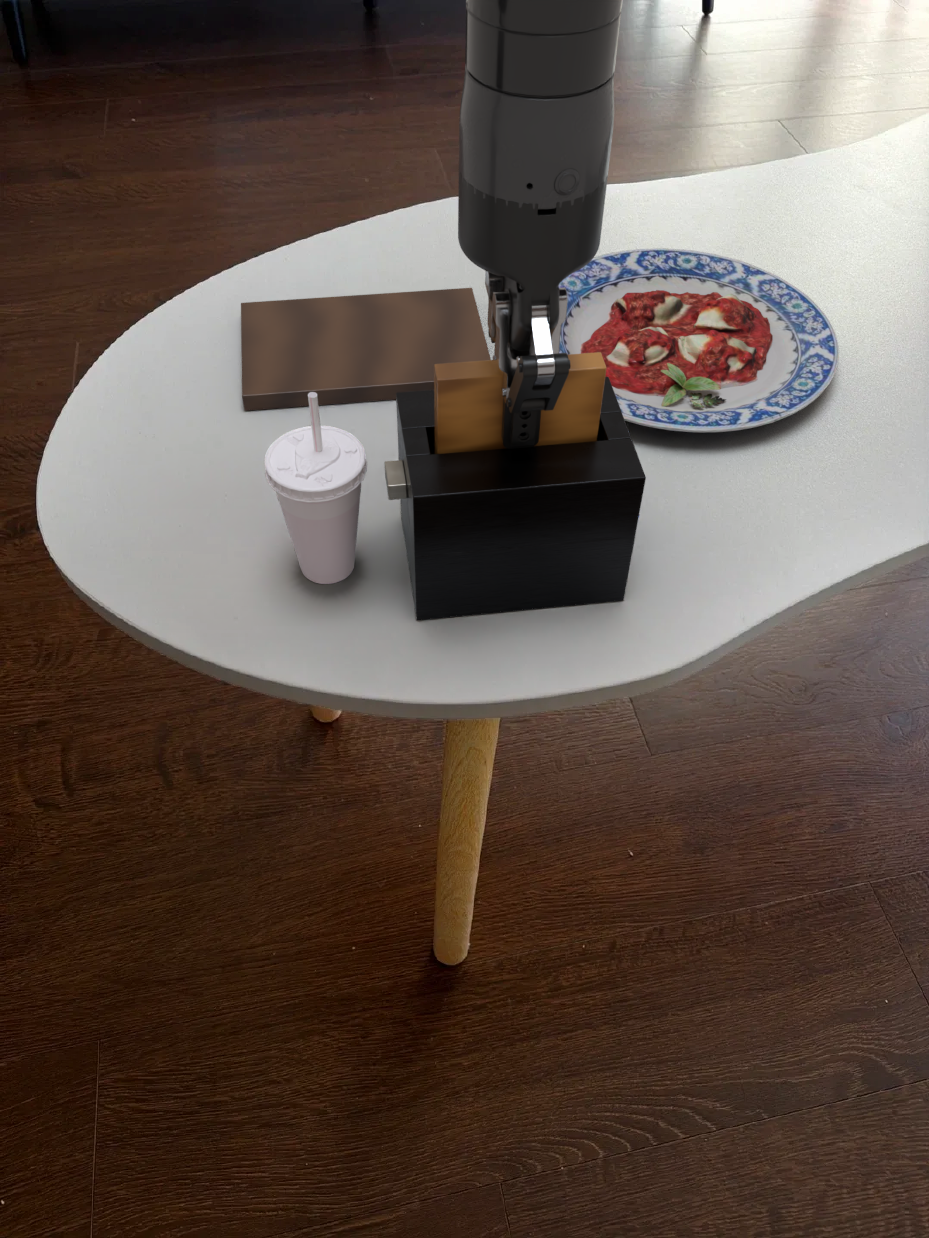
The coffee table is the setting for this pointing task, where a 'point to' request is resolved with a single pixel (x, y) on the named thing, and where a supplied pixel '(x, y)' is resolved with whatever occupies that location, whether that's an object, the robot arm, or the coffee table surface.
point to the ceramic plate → (698, 338)
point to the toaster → (515, 517)
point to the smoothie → (319, 494)
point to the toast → (476, 405)
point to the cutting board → (354, 346)
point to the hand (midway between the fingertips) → (516, 432)
